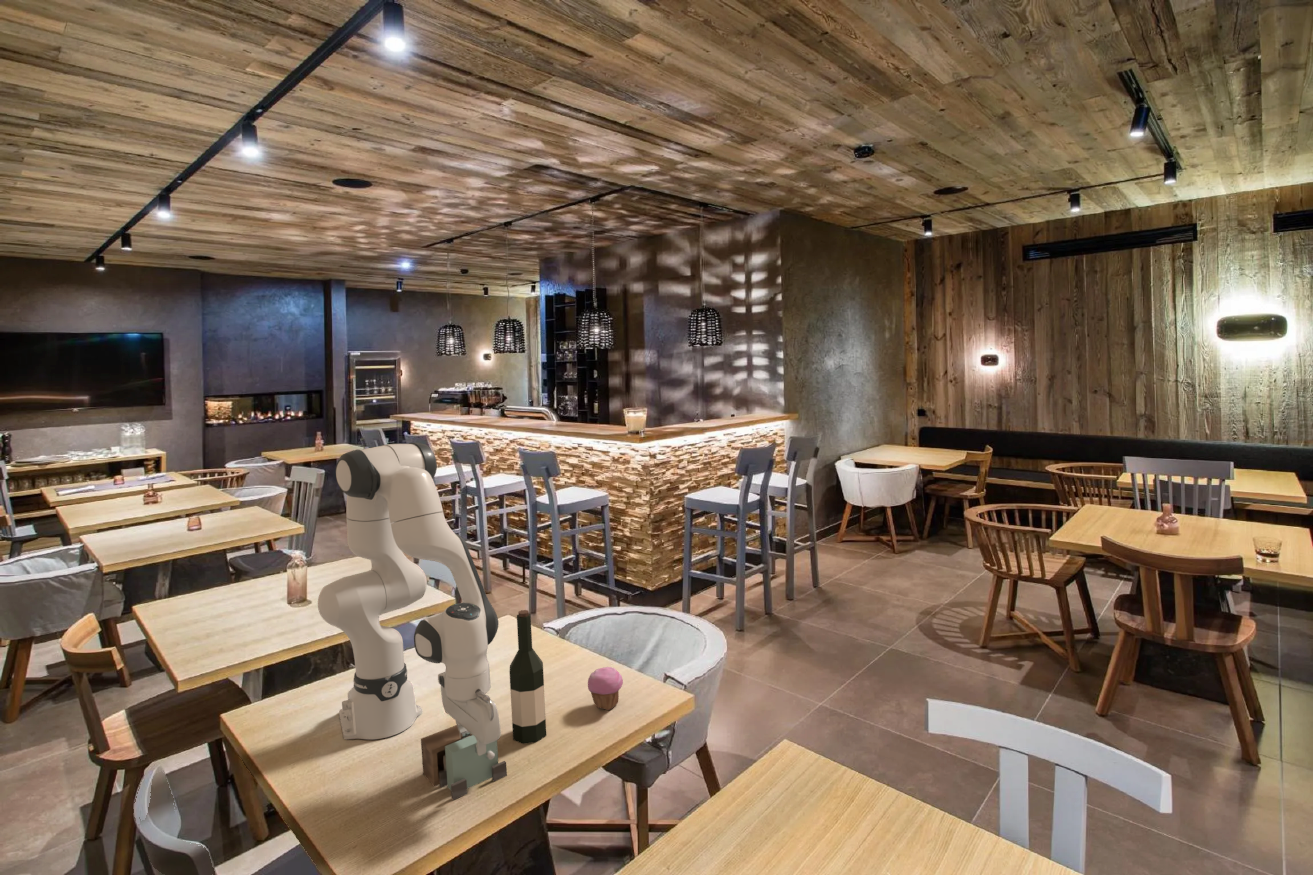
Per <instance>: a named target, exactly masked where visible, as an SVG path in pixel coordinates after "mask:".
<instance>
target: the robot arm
mask: <svg viewBox="0 0 1313 875" xmlns="http://www.w3.org/2000/svg"><path fill="white" fill-rule="evenodd" d="M437 468H438V462H437V458H436V455H435V453H434V451H433V450H432V449H431V448H430V446H429V445H427V444H424V443H421V442H409V443H390V444H389V443H388V444H383V445H379V446H374V447H368V448H364V449H355V450H354V449H353V450H351V451H350V450H349V451H347V452H346V453H343V454H342V455H341V456H340V457H339V459H338V460H337V462H336V465H335V478H336V484H337V486H338V487H339V489H340V491H341V492H342V493H344V494H345V495H346V509H345V510H346V513H345V514H346V515H345V516H346V532H347V533H346V534H347V535H346V536H347V537H346V538H347V547H348V548H349V551H350V552H351V553H352V554H353V555H355V556H357V557H359V558H362V559H364V560H365V559H366V560H370V563H371V568H370V569H369V570H367V571H364V572H359V573H356V574H351V575H348V576H344V577H342V578H339V579H336V580H335V581H332V582H331V583H328V584H327V585H324V586H323V587H322V589H321V591H320V593H319V594H318V598H317V609H318V613H319V615H320V617H321V618H322V620H324V621H325V622H326V623H328V625H330V626H333V627H336V628H338V629H340V630H341V631H342V632H343V633H344V634H345V635H346V636H347V638H348V639H349V640H348V641H350V644H351V647H352V652H353V658H354V659H353V660H354V667H355V668H354V669H355V673H354V676H353V680H352V682H353V687H352V688H350V689H349V690H348V692H347V699H346V700H342V701H341V707H342V708H341V709H339V712H338V717H339V721H340V726H341V730H342V731H341V732H342V736H343V740H354V739H355V740H356V739H360V740H379V739H384V738H385V739H386V738H389V737H392V736H395V735H398V734H400V733H402V732H404V731H406V730H407V729H409V728H410V727H411V726H412V725H413V724H414V722H415V721H416V718H418V717H419V716H420V715H421V714H423V707H422V706H420V705H418V704H417V703H416V702H417V701H416V694H415V687H414V683H413V682H411V681H410V680H408V668H407V663H405V656H404V642H403V641H404V639H403V637H402V634H401V633H400V632H399V631H398V630H397V629H395V628H393V627H390V626H386V625H381V622H380V616H382V615H384V614H387V613H390V612H393V611H397V610H400V609H403V608H406V607H408V606H410V605H412V604H414V603H416V602H417V601H419V600H421V599H423V597H424V596H425V593H426V591H427V589H428V588H427V587H428V580H427V576H426V573H425V571H424V570H423V569H422V568H421V567H420V566H419V565H418V564H417V563H415V562H413V561H412V560H410V559H409V558H408V557H407V556H409V557H411V558H415V559H419V560H424V561H431V562H436V563H439V564H442V565H444V566H446V568H448V569H449V571H450V572H451V575H452V577H453V581H454V582H455V584H456V587H457V590H458V593H459V595H460V598H461V601H462V602H459V603H458V602H457V603H453V604H451V605H449V606H448V607H447V608H445V609H444V611H442V612H440V613H436V614H432V615H430V616H428V617H425V618H423V619H421V620H420V621H419V622H418V623H417V625H416V628H415V630H414V634H413V644H414V645H413V646H414V649H415V652H416V654H417V656H419V657H420V658H422V660H425V661H426V662H429V663H433V664H441V663H442V664H443V665H445V671H442V672H441V673H438V674H437V682H438V684H439V685H440V693H441V695H440V696H441V700H442V701H441V702H442V707H443V709H444V711H445V713H446V714H448V715H449V716H450V718H452V719H453V720H455V723H456V725H457V727H458V730H459V733H460V739H461V740H462V739H464V738H467V737H469V736H470V733H471V734H472V735H473V736H475V737H476V740H477V745H475V752H476V753H477V754H478V755H479V756H480V755H483V754H485V753H486V744H489V743H492V742H494V741H496V740H497V741H498V740H499V739H500V737H501V735H502V732H501V724H500V723H501V722H500V716H499V710H498V707H497V704H496V702H495V701H493V700H492V699H491V697H490V695H487V693H488V692H489V691H490V690H491V687H492V686H491V684H492V683H491V673H490V671H491V670H490V662H489V660H488V656H487V654H488V653H487V652H488V649H489V648H488V647H489V645H490V644H491V643H492V642H493V641H494V638H495V637H496V635H497V632H498V629H499V625H500V624H499V618H498V615H497V613H496V610H495V608H494V607H493V605H492V603H491V602H490V600H489V598H488V596H487V594H486V591H485V588H484V586H483V584H482V580H481V579H480V578H481V577H480V576H479V572H478V570H477V567H476V565H475V563H474V560H473V557H472V555H471V553H470V550H469V548H468V546H467V543H466V542H465V540H464V538H463V537H462V536H461V535H460V534H457V533H455V532H454V531H453V530H452V528H451V527H450V526H449V524H448V522H447V520H446V518H445V514H444V513H445V512H444V510H443V506H442V502H441V498H440V494H439V492H438V489H437V486H436V484H435V481H434V480H433V479H434V478H435V476H436V473H437ZM406 555H407V556H406Z"/></svg>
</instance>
